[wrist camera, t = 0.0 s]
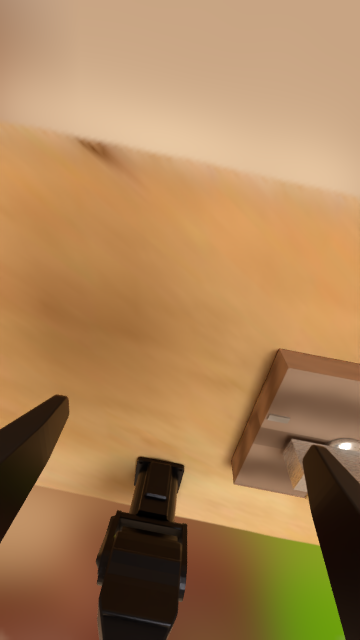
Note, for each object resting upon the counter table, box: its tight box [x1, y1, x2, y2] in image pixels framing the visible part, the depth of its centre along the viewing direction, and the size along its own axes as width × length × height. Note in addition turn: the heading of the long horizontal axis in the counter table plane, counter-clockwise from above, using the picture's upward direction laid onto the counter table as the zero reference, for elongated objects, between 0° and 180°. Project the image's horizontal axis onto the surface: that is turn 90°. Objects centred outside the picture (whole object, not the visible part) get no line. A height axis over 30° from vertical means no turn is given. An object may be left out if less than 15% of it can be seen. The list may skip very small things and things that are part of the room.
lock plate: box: [231, 349, 360, 499], centre depth 26 cm, size 18×18×3 cm
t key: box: [283, 438, 360, 492], centre depth 24 cm, size 12×4×6 cm, turn 81°
